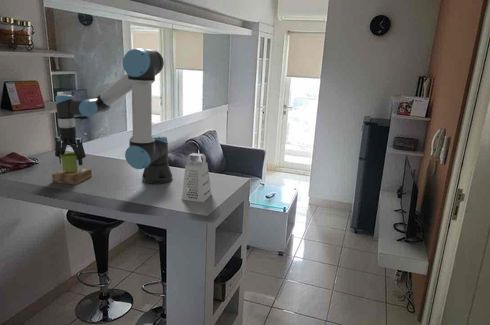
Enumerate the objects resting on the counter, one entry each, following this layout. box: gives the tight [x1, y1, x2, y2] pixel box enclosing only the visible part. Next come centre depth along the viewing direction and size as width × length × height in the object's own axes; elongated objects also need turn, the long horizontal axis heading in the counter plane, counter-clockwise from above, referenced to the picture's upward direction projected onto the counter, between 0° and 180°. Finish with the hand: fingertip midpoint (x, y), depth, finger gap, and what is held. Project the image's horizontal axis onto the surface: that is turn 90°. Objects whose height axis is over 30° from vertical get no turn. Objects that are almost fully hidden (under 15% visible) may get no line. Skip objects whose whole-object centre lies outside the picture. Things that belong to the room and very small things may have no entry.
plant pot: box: [60, 152, 77, 173], centre depth 188 cm, size 9×9×9 cm
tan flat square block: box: [51, 168, 93, 185], centre depth 190 cm, size 13×13×4 cm
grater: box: [181, 152, 213, 203], centre depth 168 cm, size 10×10×20 cm
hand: (72, 170), depth 189 cm, fingers closed on plant pot, 8 cm apart
